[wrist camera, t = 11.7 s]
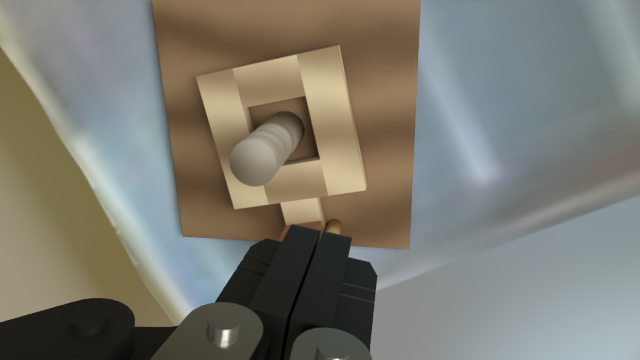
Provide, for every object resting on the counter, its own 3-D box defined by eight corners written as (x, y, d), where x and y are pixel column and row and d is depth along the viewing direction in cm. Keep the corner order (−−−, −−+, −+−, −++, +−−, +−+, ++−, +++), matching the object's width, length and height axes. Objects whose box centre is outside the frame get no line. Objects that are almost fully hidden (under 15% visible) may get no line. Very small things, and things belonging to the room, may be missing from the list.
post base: (158, -2, 37) (74, -6, 28) (420, -10, 34) (426, -17, 24) (188, 230, 44) (128, 291, 34) (409, 242, 40) (410, 314, 31)
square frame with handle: (201, 74, 37) (149, 91, 29) (339, 44, 35) (320, 54, 27) (254, 255, 42) (220, 311, 34) (378, 241, 39) (371, 296, 32)
